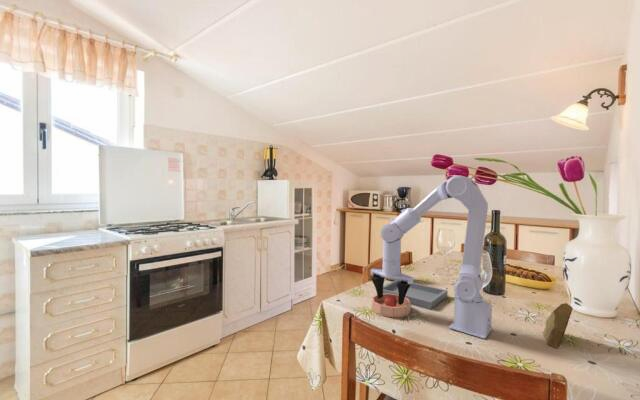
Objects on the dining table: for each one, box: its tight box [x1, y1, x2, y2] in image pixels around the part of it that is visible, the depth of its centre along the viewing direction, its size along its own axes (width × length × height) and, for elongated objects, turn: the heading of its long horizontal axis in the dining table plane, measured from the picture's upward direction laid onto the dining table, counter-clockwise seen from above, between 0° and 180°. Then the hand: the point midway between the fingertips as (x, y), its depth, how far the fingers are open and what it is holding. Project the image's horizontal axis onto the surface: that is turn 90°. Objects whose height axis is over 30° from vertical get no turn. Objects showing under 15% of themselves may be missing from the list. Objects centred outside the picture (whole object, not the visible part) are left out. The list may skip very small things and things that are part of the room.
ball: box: [385, 295, 397, 307], centre depth 101 cm, size 4×4×4 cm
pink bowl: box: [371, 293, 412, 319], centre depth 101 cm, size 12×13×3 cm
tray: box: [383, 280, 449, 311], centre depth 114 cm, size 20×16×2 cm
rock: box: [542, 302, 574, 349], centre depth 83 cm, size 11×9×10 cm
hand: (390, 300), depth 101 cm, fingers open, 7 cm apart
